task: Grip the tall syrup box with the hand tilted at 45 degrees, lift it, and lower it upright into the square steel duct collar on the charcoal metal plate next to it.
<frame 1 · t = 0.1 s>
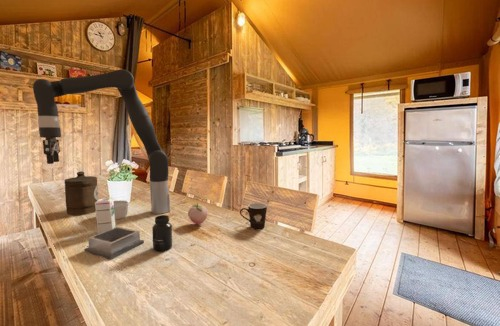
hand: (53, 162, 112), 29 cm above the table, tool pointing down, fingers open, 8 cm apart
wooden container: (83, 211, 135), on the table
coffee mug: (254, 226, 114), on the table
duct collar: (115, 247, 93), on the table
decorative fruit: (198, 224, 116), on the table
syrup box: (107, 232, 106), on the table
supplement bottle: (163, 248, 92), on the table
ramekin: (114, 217, 126), on the table
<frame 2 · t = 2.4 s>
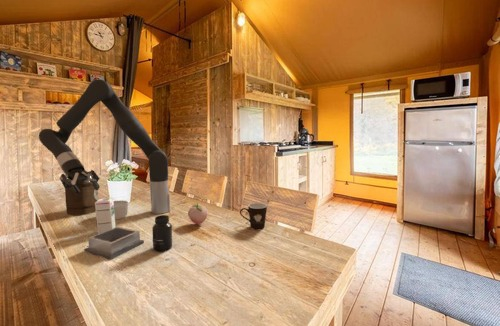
hand: (88, 191, 109), 17 cm above the table, tool tilted 45°, fingers open, 8 cm apart
nothing on the table moved.
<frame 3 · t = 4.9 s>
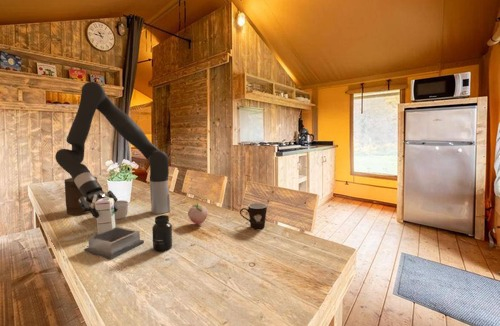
hand: (107, 213, 105), 8 cm above the table, tool tilted 45°, fingers open, 8 cm apart
syrup box: (107, 232, 106), on the table, touching gripper
everything else where it was.
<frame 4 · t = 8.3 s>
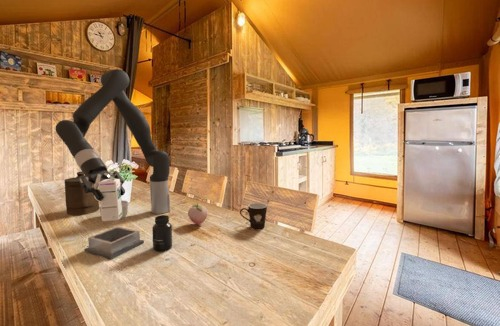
hand: (113, 196, 90), 20 cm above the table, tool tilted 45°, fingers closed on syrup box, 8 cm apart
syrup box: (112, 218, 91), point 11 cm above the table, touching gripper
everything else where it was.
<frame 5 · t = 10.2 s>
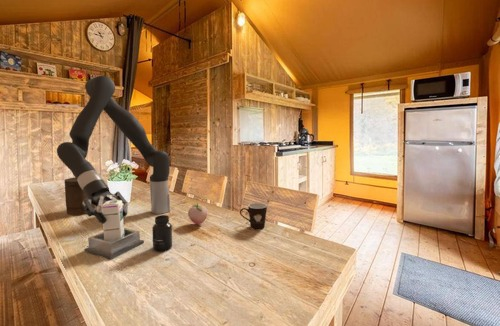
hand: (115, 218, 91), 11 cm above the table, tool tilted 45°, fingers closed on syrup box, 8 cm apart
syrup box: (114, 240, 92), point 3 cm above the table, touching gripper
everything else where it was.
when the fingers open (11 cm above the table, at t = 11.2 s): syrup box drops 1 cm, resting on duct collar.
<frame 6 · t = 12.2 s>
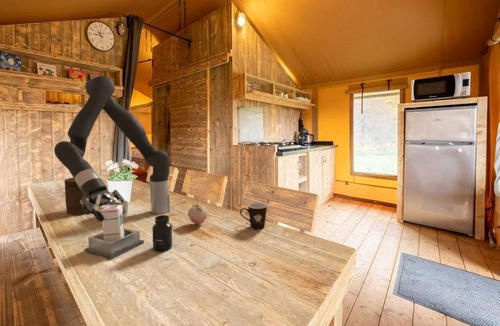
hand: (113, 216, 91), 12 cm above the table, tool tilted 45°, fingers open, 8 cm apart
syrup box: (114, 244, 92), point 1 cm above the table, touching duct collar, gripper
everything else where it was.
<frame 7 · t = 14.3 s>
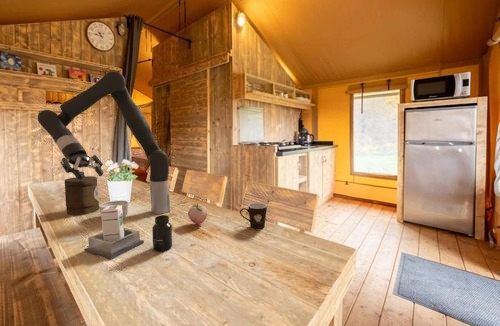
hand: (91, 176, 101), 25 cm above the table, tool tilted 45°, fingers open, 8 cm apart
syrup box: (114, 245, 92), point 1 cm above the table, touching duct collar
everything else where it was.
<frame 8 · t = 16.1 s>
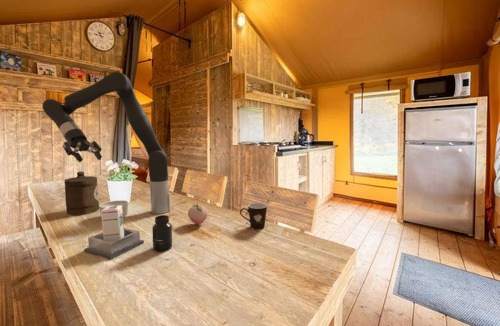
hand: (91, 159, 110), 31 cm above the table, tool tilted 45°, fingers open, 8 cm apart
nothing on the table moved.
at the end: syrup box 0.2 cm off-centre on the duct collar, point 0.8 cm above the duct collar's base; syrup box tilted 0°; the gripper is holding nothing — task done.
